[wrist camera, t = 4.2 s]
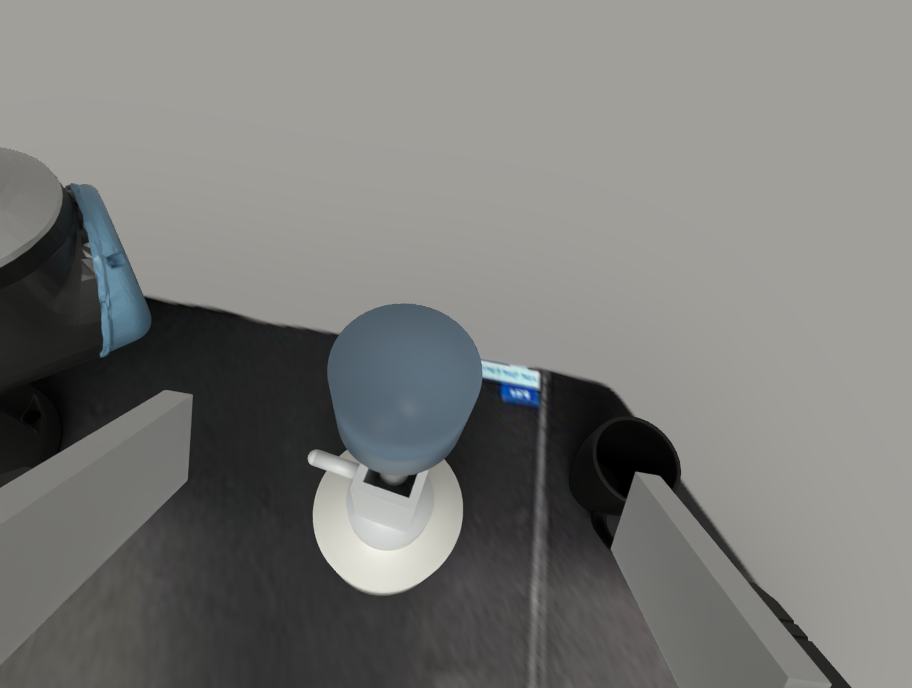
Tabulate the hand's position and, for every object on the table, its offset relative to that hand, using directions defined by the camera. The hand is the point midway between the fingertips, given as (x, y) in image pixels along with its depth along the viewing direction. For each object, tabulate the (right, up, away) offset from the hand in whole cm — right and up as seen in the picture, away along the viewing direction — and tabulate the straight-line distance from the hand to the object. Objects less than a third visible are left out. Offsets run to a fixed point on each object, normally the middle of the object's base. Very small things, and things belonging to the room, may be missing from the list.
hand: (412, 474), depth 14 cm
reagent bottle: (-5, -14, +31) cm, 34 cm away
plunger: (-2, -3, +13) cm, 13 cm away
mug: (+15, -13, +35) cm, 40 cm away
